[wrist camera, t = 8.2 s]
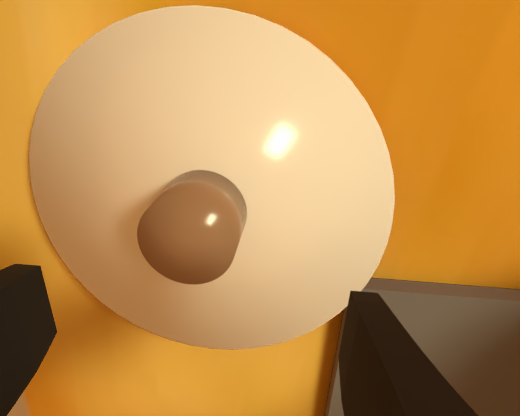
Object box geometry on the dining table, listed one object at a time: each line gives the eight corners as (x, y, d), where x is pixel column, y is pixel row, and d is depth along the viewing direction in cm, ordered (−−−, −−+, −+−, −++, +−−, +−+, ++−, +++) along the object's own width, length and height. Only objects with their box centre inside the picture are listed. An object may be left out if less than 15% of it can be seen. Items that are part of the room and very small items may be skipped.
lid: (463, 81, 15) (505, 98, 12) (316, 374, 23) (317, 435, 19) (46, -52, 15) (-31, -74, 12) (35, 286, 23) (-15, 333, 19)
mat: (643, 299, 20) (659, 312, 19) (537, 471, 27) (545, 486, 26) (350, 276, 21) (352, 287, 20) (318, 449, 28) (319, 464, 27)
